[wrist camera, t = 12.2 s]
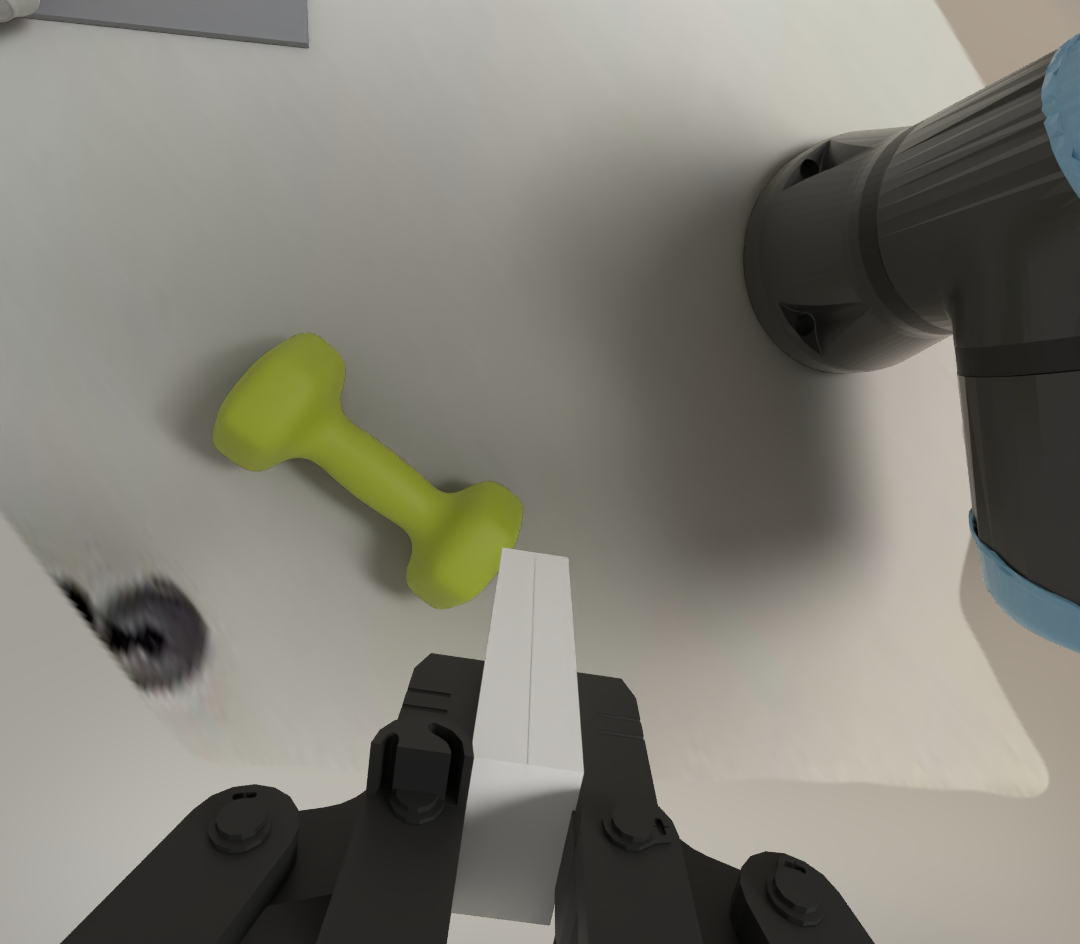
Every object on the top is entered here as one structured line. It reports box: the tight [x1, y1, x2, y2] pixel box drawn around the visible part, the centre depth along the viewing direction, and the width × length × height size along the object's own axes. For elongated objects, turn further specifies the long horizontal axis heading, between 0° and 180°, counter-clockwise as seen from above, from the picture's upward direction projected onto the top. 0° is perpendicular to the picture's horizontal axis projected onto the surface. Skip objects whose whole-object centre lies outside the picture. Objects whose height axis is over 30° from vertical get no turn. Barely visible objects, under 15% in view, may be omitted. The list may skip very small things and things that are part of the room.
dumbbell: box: [213, 333, 523, 609], centre depth 36 cm, size 16×8×7 cm, turn 49°
